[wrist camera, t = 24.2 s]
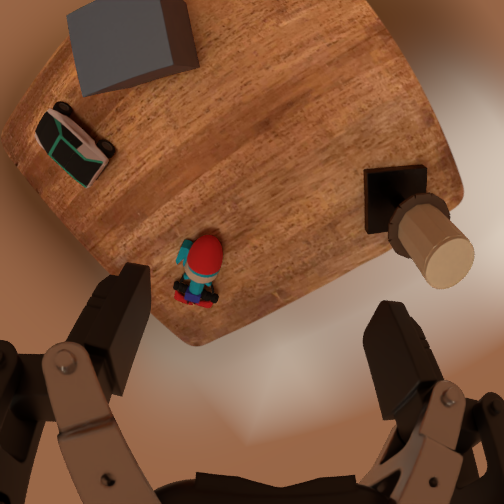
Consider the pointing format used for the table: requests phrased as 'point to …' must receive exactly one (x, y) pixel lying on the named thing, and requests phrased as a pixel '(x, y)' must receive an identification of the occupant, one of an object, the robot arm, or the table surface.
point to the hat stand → (390, 192)
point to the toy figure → (199, 270)
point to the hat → (431, 240)
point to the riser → (130, 43)
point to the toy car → (72, 145)
